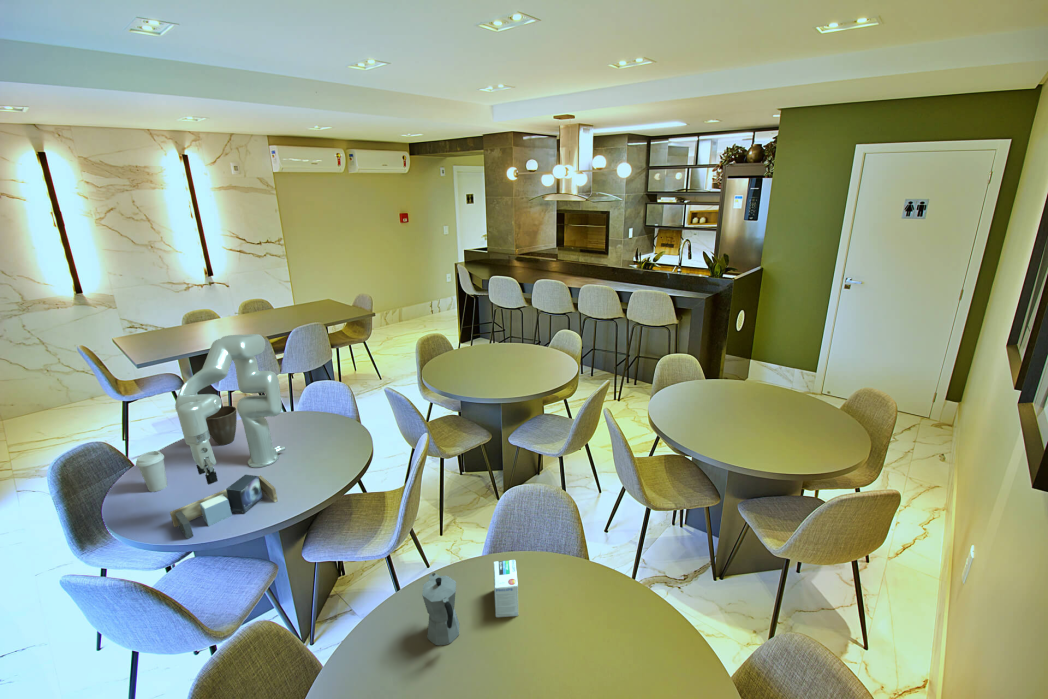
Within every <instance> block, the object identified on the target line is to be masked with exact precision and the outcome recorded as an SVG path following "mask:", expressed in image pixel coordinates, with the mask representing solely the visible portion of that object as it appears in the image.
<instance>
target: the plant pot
mask: <svg viewBox="0 0 1048 699" xmlns="http://www.w3.org/2000/svg"><path fill="white" fill-rule="evenodd" d="M237 420H238V419H237V407H235V406H232V405H221V408H220V409H219V411H218V412H216V413H215V414H213V415H211V416H209V417H207V418H206V422H207V426H208V430H209V434H210V438H211V439H213V441H214V442H215V444H216V445H218V446H225V445H229V444H231V443H233V442H234V440H235V437H236V431H237V423H238V422H237Z"/></svg>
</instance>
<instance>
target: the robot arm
mask: <svg viewBox="0 0 1048 699" xmlns="http://www.w3.org/2000/svg"><path fill="white" fill-rule="evenodd" d="M266 344H267V343H266V340H265V338H264V337H263V335H261V334H257V333H252V334H251V333H250V334H230V335H225V336H222V337H220V338H218V339H216V340H214V341H213V342H212V344H211V345H210V348H209V351H208V353H207V356H206V357H205V358H206V359H205V360H204V364H203V366H202V368H201V369H200V370H199V371H196V373H195V374H194V375H192V376H191V377H189V378H188V379H187V380H186V381H184V383H183V385H181V387H180V390H179V392H178V394H177V397H176V401H175V404H174V405H175V406H174V408H175V411H176V412H177V416H178V420H179V423H180V427H181V431H182V435H183V438H184V442H185V444H186V445H187V446H189V447H190V451H191V455H192V458H193V461H194V462H195V464H196V469H197V472H198V475H204V474H205V475H204V476H205V479H206V484H207V485H212V484H214V483H217V482H218V476H217V471H216V469H215V467H214V465H216V464H217V460H216V457H215V454H214V451H213V448H212V445H211V442H210V439H211V436H210V434H209V430H208V426H207V422H206V418H207V417H209V416H211V415H213V414H215V413H216V412H218V411H219V409H220V408H221V406H223V405H222V404H223V403H222V402H223V401H222V398H221V397H220V396H219V395H218V394H213V393H204V394H202V393H201V394H199V392H200V391H201V390H203V389H204V388H206V387H208V386H211V385H213V384H216V383H218V382H220V381H223V380H225V378H226V377H227V376H228V373H229V371H230V367H231V365H232V361H233V364H234V367H235V373H236V379H237V380H236V381H237V386H238V390H239V391H240V393H243V394H259V395H247V396H244V397H242V398H240V399H239V400H238V401H237V404H236V411H237V413H238V415H239V417H240V418H241V422H242V425H243V428H244V433H245V438H246V442H247V447H248V450H249V455H250V458H248V461H247V465H248V466H249V467H251V468H263V467H267V466H270V465H273V464H274V463H275V462H277V461H278V460H279V458H280V457H279V453H280V452H284V451H286V448H285V446H284V445H282V446H280V445H277V446H276V447H274V445H273V439H272V435H271V431H270V425H269V422H268V420H267V419H266V418H267V417H269V418H272V417H277V416H279V415H280V414H281V412H282V410H283V408H282V407H283V403H282V395H281V387H280V381H279V376H278V375H277V373H275V372H274V371H271V370H259V369H260V368H259V366H258V359H257V358H256V356H259V355H261V354H262V353H263V352H264V351H265V349H266ZM260 394H263V395H260Z"/></svg>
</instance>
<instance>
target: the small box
mask: <svg viewBox="0 0 1048 699" xmlns="http://www.w3.org/2000/svg"><path fill="white" fill-rule="evenodd" d="M258 476H259V475H251V474H244V475H243V476H241V477H240V478H239V479H238V480H236V481H235V482H233V483H232V484H230V485H229V486H228V487H227V488H225V489H226V491H227V495H228V500H229V505H230V509H231V513H237V514H241V515H242V514H246V513H247V512H248V511H250V510H251V509H252V508H253V507H254V506H256V505H257V504H258V503H259V502H261V501H262V500H263V499H264V497H263V493H262V492H263V491H262V490H261V487H260V482H259V477H258Z"/></svg>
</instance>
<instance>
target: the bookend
mask: <svg viewBox="0 0 1048 699" xmlns="http://www.w3.org/2000/svg"><path fill="white" fill-rule="evenodd" d="M175 515H176V519H177V522H178V526H177V527H178V528H179V529H180V531H181V533H182V534H183V535H184V536H185V538H186V539H187V540H188V539H190V538H192V537H194V532H193V529H192V526H191V523H190V521H188V519H187V518H186V517H185V515H184V514H183V513H182V511H180V512H178V513H175Z"/></svg>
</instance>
